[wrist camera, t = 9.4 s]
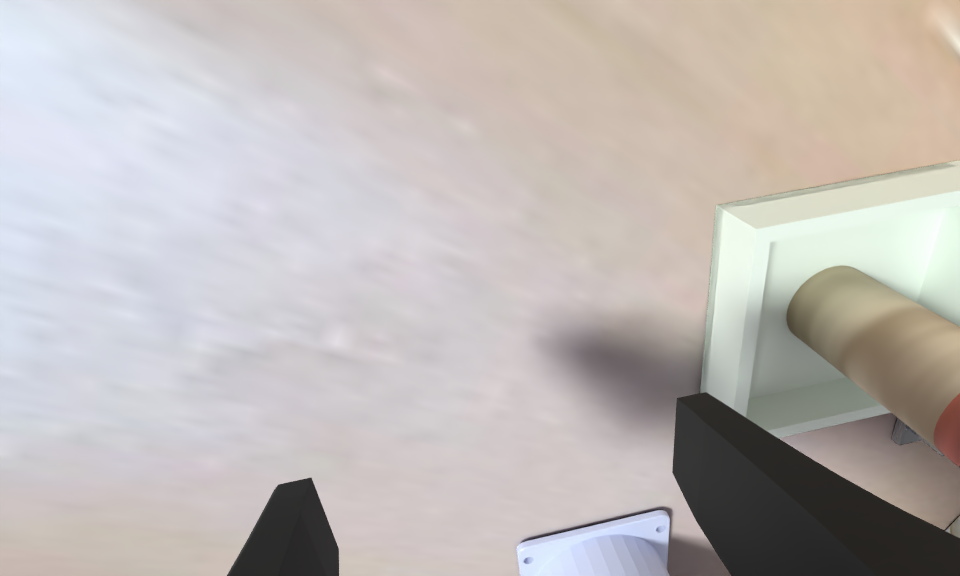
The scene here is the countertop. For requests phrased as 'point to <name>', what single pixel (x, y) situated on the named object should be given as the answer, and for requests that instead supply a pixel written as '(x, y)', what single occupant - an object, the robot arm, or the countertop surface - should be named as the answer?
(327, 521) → the robot arm
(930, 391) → the pin
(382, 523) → the countertop surface
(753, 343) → the tray
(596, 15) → the countertop surface
